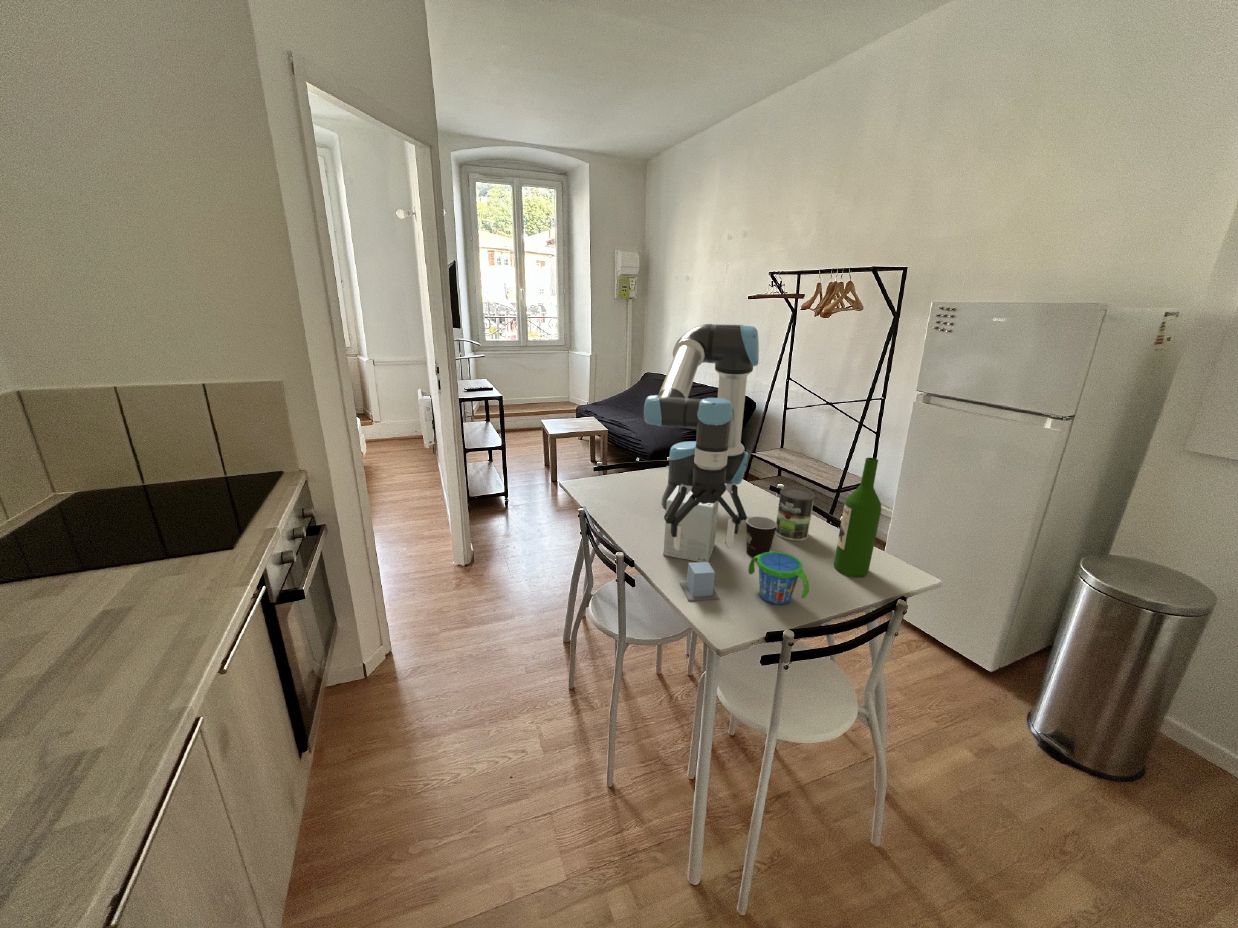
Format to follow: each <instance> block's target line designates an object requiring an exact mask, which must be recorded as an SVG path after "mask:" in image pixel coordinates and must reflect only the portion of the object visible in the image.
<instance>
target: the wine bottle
mask: <svg viewBox="0 0 1238 928" xmlns="http://www.w3.org/2000/svg"><path fill="white" fill-rule="evenodd" d="M878 463H879V460H878V458H874V457H866V458H865V460H864V465H863V471H862V475H861V480H860V484H859V486H857V488H856V489H854V491H853V492H852V493H851V494H849V495H848V496H847V497H846V499H845V502H844V505H843V510H842V511H843V512H842V515H841V517H842V518H841V522H840V527H839V533H838V537H837V538H838V539H837V545H836V548H835V549H836V550H835V555H834V560H833V567H834V569H835V570H836V572H838V573H840V574H841V575H844V576H847V577H852V578H865V577H866V576H867V575H868V574H869V569H870V567H871V566H870V565H871V561H872V558H873V557H872V556H873V551H874V547H875V543H876V538H877V537H876V536H877V534H878V533H877V532H878V527H879V523H880V519H881V514H882V502H881V500H880V498H879V497H878V496H879V495H877V492H876V490H875V487H874V485H875V480H876V475H877V470H878Z"/></svg>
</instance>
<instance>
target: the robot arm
mask: <svg viewBox="0 0 1238 928" xmlns="http://www.w3.org/2000/svg"><path fill="white" fill-rule="evenodd" d="M758 332H759V331H758V329H757V327H755V326H751V325H744V324H712V323H705V324H701V325H697V326H694V327H692V328H691V329H690V330H688V331H687V332H685V333H684V334H682V336H680V338H678V340H677V341H676V342H675V345H674V347H673V350H672V357H673V358H672V361H671V362H670V366H669V368H668V371H667V372H666V373H667V374H666V376H665V378H664V380H663V383H662V385H661V388H660V390H659V393H658V394H655V395H649V396H647V397H645V401H644V405H643V419H644V422H645V423H646V424H647V425H652V426H658V427H666V428H667V427H668V428H681V429H691V430H696V436H695V437H696V440H695V441H694V440H693V441H692V440H691V441H690V440H689V441H681V442H678V443H677V442H676V443H675V444H673V445H672V446H671V447H670V450H669V457H668V474H667V475H668V476H667V485H666V488H665V490H664V492H663V495H662V498H661V505H662V507H663V508H664V509H666V504H667V499H668V498H669V497H670V495H671V494H672V493H673V491H674V490H675V488H676V487H677V485H678V486H679V489H678V493H677V495H676V496H675V498H674V500H673V502H672V503H671V505H670V507H669V509H668V510H667V512H666V511H665V514H664V516H663V519H664V521H665V522H666V523H668V524H669V523H670V524H671V535H672V537H674V547H675V549H676V551H679V548H680V534H681V525H680V524H679V523H680V522H681V521H682V520H683V519H684V517H685V516H686V515H687V514H688V513H689V512H690V511H691V510H692V509H693V508H694V507H695V506H697V505H698V504H699V503H702V504H706V503H715V502H716V501H718V502H719V503H718V504H720V506H722V508H723V509H724V510H725V511H726V513H727V514H728V515H729V516H730V518H728V521H727V528H726V529H727V530H726V539H725V544H726V545H727V546H728V548H729V549H733V548H734V538H735V535H738V533H739V525H741V523H742V521H746V520H747V518H748V516H747V513H746V511H745V509H744V506H743V503H742V502H741V498H740V497H739V494H738V488H739V487H738V485H740V484H741V483H742V481H743V480H744V479H743V478H744V476H745V472H746V467H747V463H748V458H749V452H747V451H745V446H744V445H743V443H741V442H742V430H743V420H744V411H745V402H746V390H747V389H746V388H747V382H748V381H747V379H748V376H749V375H750V374H751V373H752V372H753V371H754V367H757V366H758V365H759V360H760V359H759V355H760V354H759V352H760V349H759V348H760V347H759V346H760V345H759V344H760V343H759V333H758ZM705 363H706V364H714V370H715V371H716V373H717V374H718V387H717V388H718V389H717V397H706V398H703V399H702V398H701V399H700V398H689V395H690V392H691V388H692V387H693V386H692V385H693V383H694V379H695V376H696V373H697V370H698V367H700V366H701V365H702V364H705ZM690 491H691V492H692V493H693V494H692V495H691V496H690V497H689V500H688V501H687V502H686V503H685V504H684V505H683V506H682V507H681V508H680V509H679V507H680V506H681V504H682V502H683V500H684V499H685V496H686V495H688V493H689V492H690ZM726 491H727V492H728V494H730V497H731V499H732V502H733V505H734V507H735V509H736V511H737V512H736V513H737V514H736V513H735V512H734V510H733V509H732V507H730V506H729V504H728V503H727V502H726V500H725V499H724V498H723V497H722V496H723V495H724V494H725V492H726ZM678 509H679V510H678ZM676 512H677V513H676Z"/></svg>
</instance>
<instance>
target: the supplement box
mask: <svg viewBox="0 0 1238 928" xmlns="http://www.w3.org/2000/svg"><path fill="white" fill-rule="evenodd" d="M678 489H679V486H678V485H677V487H676V488H675V490H674V491H673V493H672V494H671V495H670V497H669V498H668V499H667V504H666V508H665V510H666V511H665V513H666V512H667V510H668V509H669V507H670V505H671V503H672V502H673V500H674V498H675V496H676V495H677V493H678ZM692 494H693V493H692V492H691V491H690V492H689V493H688V495H686V496H685V499H684V500H683V502H682V504H681V506H680V507H679V509H680V508H681V507H682V506H683V505H684V504H685V503H686V502H687V501H688V500H689V497H690V496H691V495H692ZM719 504H720V503H719V502H718V501H716V502H715V503H706V504H702V503H699V504H698V505H697V506H695V507H694V508H693V509H692V510H691V511H690V512H689V513H688V514H687V515H686V516H685V517H684V519H683V520H682V521H681V522H680V523H679V524H680V525H681V534H680V548H679V551H676V549H675V547H674V537H672V535H671V524H670V523H669V524H668V523H666V521H665V525H664V526H665V527H664V540H663V552H662V553H663V555H664V556H667V557H673V558H678V559H684V560H688V561H691V562H692V561H693V562H709V560H710V558H711V555H712V553H713V549H714V547H715V545H716V544H715V543H716V532H717V523H718V513H719ZM679 509H678V510H679ZM676 513H677V512H676Z"/></svg>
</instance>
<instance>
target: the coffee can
mask: <svg viewBox="0 0 1238 928" xmlns="http://www.w3.org/2000/svg"><path fill="white" fill-rule="evenodd" d="M815 496H816V495H815V493H813V492H812V491H809V490H807V489H805V488H804V489H803V488H799V487H784V488H781V489H780V490H779V500H778V507H777V514H776V515H777V516H776V521H775V522H776V523H777V527H776V531H775V534H776V535H777V537H780V538H781V539H782V538H783V539H785V540H788V541H793V542H795V541H796V542H799V541H801V542H803V541H805V540H807V539H808V537H809V530H810V524H811V518H812V513H813V506H814V501H815Z"/></svg>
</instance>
